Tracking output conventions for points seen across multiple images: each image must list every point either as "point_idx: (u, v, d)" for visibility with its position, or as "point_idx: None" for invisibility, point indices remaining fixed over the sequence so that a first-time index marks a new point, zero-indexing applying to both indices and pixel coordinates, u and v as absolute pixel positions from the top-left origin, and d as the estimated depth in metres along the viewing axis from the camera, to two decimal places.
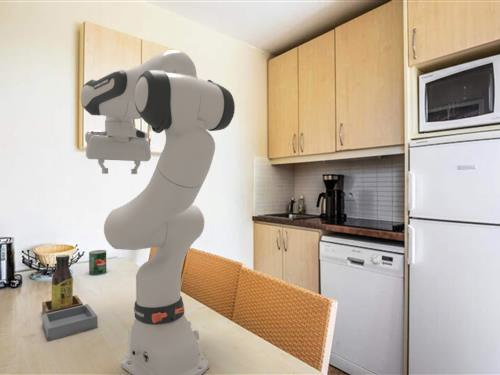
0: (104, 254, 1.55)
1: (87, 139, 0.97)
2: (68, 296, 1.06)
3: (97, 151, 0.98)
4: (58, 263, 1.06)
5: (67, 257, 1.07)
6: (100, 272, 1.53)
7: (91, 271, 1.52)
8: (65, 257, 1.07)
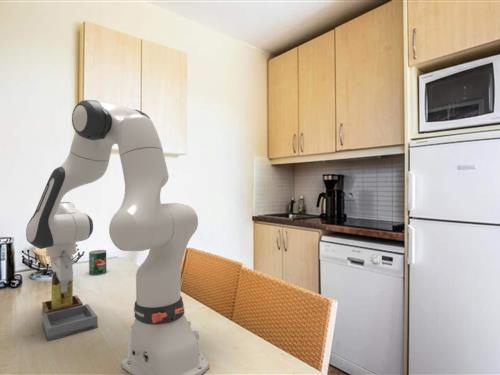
0: (104, 254, 1.55)
1: None
2: (68, 296, 1.06)
3: None
4: None
5: None
6: (100, 272, 1.53)
7: (91, 271, 1.52)
8: None
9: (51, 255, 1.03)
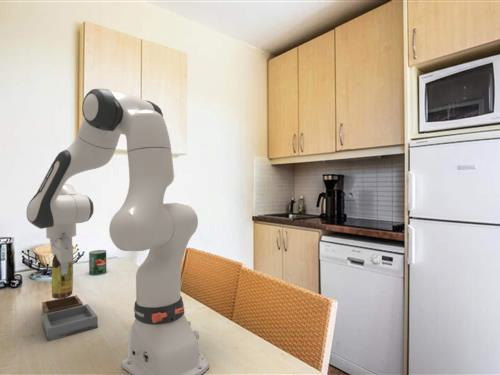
0: (104, 254, 1.55)
1: (68, 244, 1.00)
2: (68, 278, 1.06)
3: None
4: None
5: None
6: (100, 272, 1.53)
7: (91, 271, 1.52)
8: None
9: (51, 237, 1.03)
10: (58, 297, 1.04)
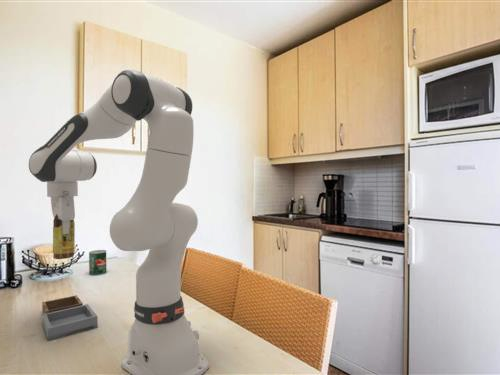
0: (104, 254, 1.55)
1: (69, 201, 0.97)
2: (70, 239, 1.03)
3: None
4: None
5: None
6: (100, 272, 1.53)
7: (91, 271, 1.52)
8: None
9: (52, 195, 1.00)
10: (60, 258, 1.01)
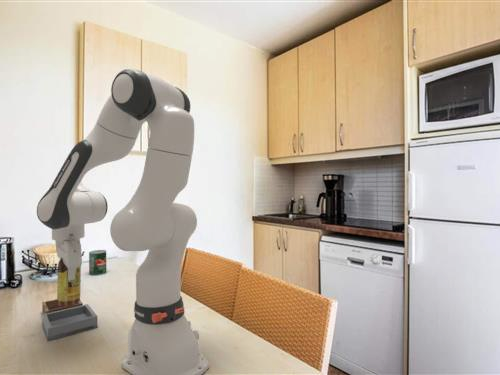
0: (104, 254, 1.55)
1: None
2: (76, 284, 0.95)
3: None
4: None
5: None
6: (100, 272, 1.53)
7: (91, 271, 1.52)
8: None
9: (57, 239, 0.92)
10: (65, 305, 0.94)
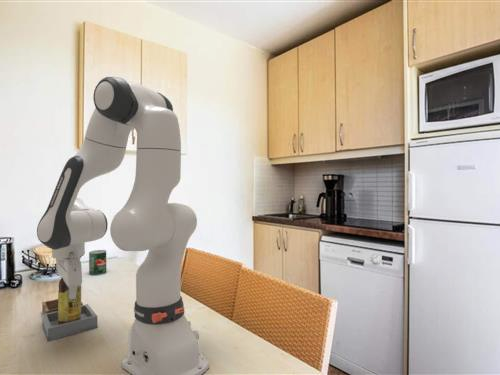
0: (104, 254, 1.55)
1: None
2: (76, 304, 0.95)
3: None
4: None
5: None
6: (100, 272, 1.53)
7: (91, 271, 1.52)
8: None
9: (58, 257, 0.92)
10: None
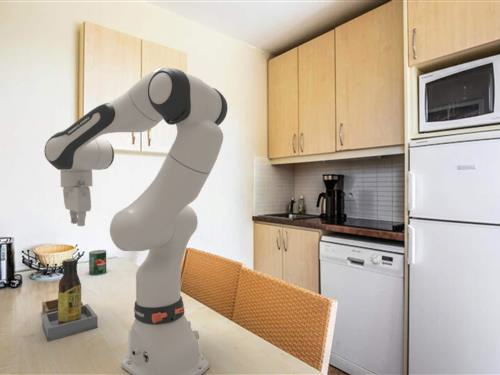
0: (104, 254, 1.55)
1: None
2: (76, 304, 0.95)
3: None
4: (65, 268, 0.95)
5: (75, 261, 0.97)
6: (100, 272, 1.53)
7: (91, 271, 1.52)
8: (73, 261, 0.96)
9: (66, 185, 0.94)
10: None
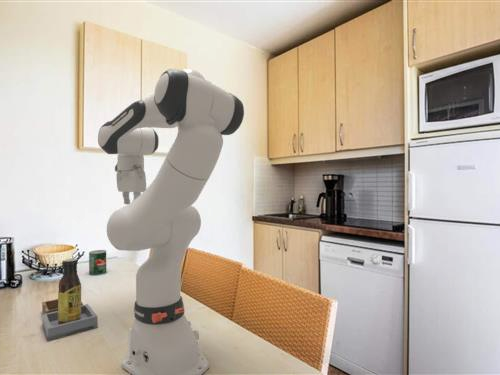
0: (104, 254, 1.55)
1: None
2: (76, 304, 0.95)
3: None
4: (65, 268, 0.95)
5: (75, 261, 0.97)
6: (100, 272, 1.53)
7: (91, 271, 1.52)
8: (73, 261, 0.96)
9: (124, 168, 1.06)
10: None
